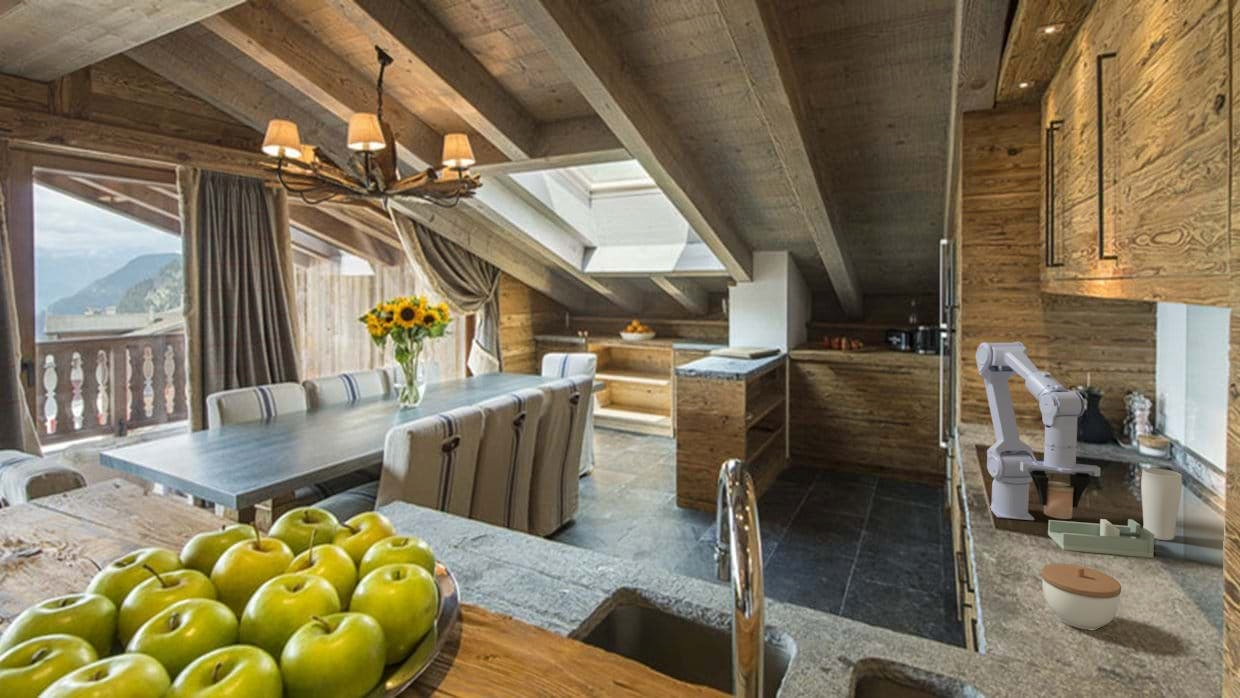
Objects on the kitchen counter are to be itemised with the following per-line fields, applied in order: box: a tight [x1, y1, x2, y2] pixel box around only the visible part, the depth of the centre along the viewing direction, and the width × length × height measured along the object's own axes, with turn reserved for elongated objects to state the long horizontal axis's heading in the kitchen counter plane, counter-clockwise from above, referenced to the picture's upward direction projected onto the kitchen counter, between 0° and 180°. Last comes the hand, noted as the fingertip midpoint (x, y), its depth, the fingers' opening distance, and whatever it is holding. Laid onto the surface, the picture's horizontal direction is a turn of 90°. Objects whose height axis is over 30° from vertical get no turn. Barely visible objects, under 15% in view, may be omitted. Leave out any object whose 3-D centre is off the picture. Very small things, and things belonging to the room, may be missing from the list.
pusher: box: [1099, 518, 1141, 538], centre depth 130 cm, size 6×8×4 cm
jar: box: [1043, 481, 1074, 520], centre depth 134 cm, size 5×5×7 cm
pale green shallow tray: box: [1047, 518, 1155, 559], centre depth 132 cm, size 9×16×5 cm, turn 72°
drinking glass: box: [1140, 467, 1183, 541], centre depth 135 cm, size 7×7×15 cm
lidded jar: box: [1041, 563, 1122, 630], centre depth 102 cm, size 11×11×9 cm
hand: (1058, 504), depth 134 cm, fingers closed on jar, 5 cm apart
